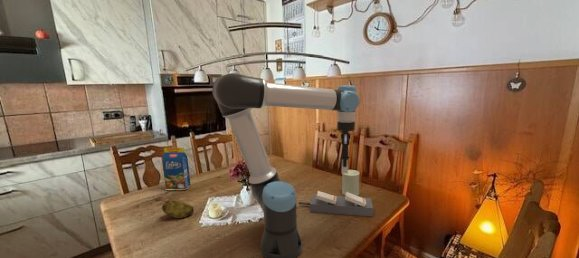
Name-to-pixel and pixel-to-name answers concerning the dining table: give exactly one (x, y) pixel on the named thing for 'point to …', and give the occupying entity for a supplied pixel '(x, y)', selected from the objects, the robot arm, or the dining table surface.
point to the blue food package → (175, 168)
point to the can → (350, 182)
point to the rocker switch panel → (340, 206)
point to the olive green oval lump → (177, 209)
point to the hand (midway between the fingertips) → (344, 172)
